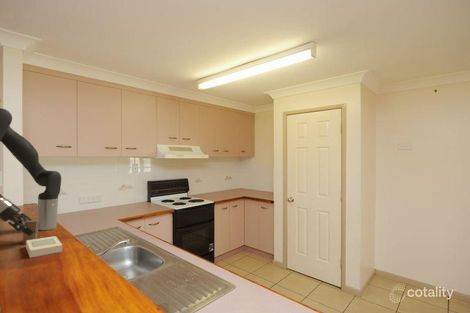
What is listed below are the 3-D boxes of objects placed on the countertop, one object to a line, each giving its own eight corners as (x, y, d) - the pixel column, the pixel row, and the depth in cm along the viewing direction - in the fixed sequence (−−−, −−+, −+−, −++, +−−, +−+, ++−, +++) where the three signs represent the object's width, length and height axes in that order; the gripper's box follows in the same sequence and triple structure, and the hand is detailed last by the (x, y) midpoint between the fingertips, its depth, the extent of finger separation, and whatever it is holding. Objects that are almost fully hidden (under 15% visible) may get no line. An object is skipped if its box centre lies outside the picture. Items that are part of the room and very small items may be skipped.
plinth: (25, 247, 113) (26, 240, 113) (55, 242, 121) (55, 235, 121) (30, 257, 102) (30, 249, 102) (62, 251, 109) (62, 244, 109)
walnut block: (25, 241, 121) (27, 220, 121) (37, 240, 123) (38, 219, 123) (22, 244, 117) (24, 222, 117) (35, 243, 119) (36, 222, 119)
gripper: (6, 206, 110) (37, 229, 115) (17, 200, 123) (44, 222, 128) (-10, 218, 108) (22, 242, 113) (2, 212, 120) (31, 233, 125)
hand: (34, 231), depth 120 cm, fingers open, 8 cm apart
